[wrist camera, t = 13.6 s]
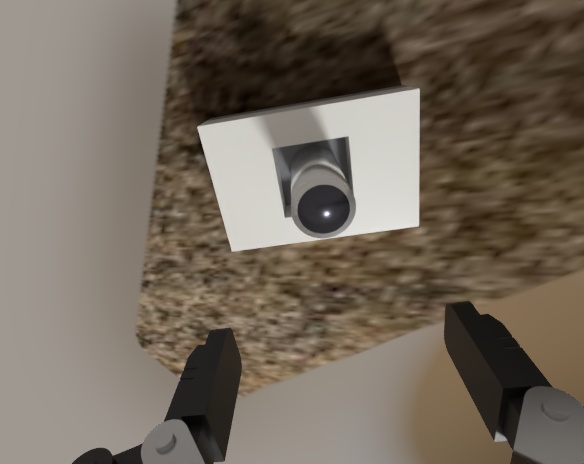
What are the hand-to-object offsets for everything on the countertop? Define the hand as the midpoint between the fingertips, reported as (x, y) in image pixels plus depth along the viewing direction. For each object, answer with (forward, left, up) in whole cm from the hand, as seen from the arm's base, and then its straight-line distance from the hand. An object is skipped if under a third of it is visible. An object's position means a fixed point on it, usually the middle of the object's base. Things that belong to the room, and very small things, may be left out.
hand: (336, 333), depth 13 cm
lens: (0, 0, -22) cm, 22 cm away
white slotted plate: (0, 0, -24) cm, 24 cm away
